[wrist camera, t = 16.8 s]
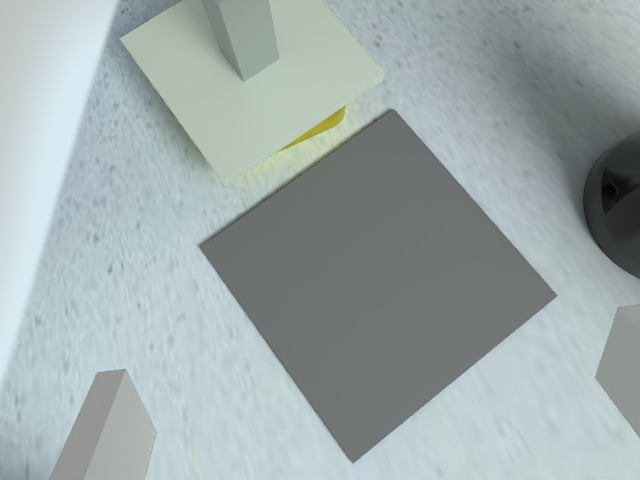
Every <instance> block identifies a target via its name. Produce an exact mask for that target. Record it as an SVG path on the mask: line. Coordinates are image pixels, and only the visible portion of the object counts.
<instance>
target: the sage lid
mask: <svg viewBox="0 0 640 480" xmlns="http://www.w3.org/2000/svg"><path fill="white" fill-rule="evenodd" d="M120 40H121V42H122V43H123V45H124V46H125V47H126V49H127V50H128V52H129V53H130V54H131V56H132V57H133V58H134V60H135V61H136V63H137V64H138V65H139V67H140V68H141V70H142V71H143V72H144V74H145V75H146V77H147V78H148V79H149V81H150V82H151V84H152V85H153V86H154V88H155V89H156V90H157V92H158V93H159V95H160V96H161V97H162V99H163V100H164V102H165V103H166V104H167V106H168V107H169V109H170V110H171V111H172V113H173V114H174V116H175V117H176V118H177V120H178V121H179V122H180V124H181V125H182V127H183V128H184V129H185V131H186V132H187V134H188V135H189V136H190V138H191V139H192V141H193V142H194V143H195V145H196V146H197V148H198V149H199V150H200V152H201V153H202V154H203V156H204V157H205V159H206V160H207V161H208V163H209V164H210V166H211V167H212V168H213V170H214V171H215V173H216V174H217V175H218V177H219V178H220V180H221V181H222V182H223V184H224V185H225V186H228V185H229V184H231V183H232V182H234V181H235V180H236V179H238V178H239V177H241V176H242V175H244V174H245V173H247V172H248V171H250V170H251V169H253V168H254V167H256V166H257V165H259V164H260V163H261V162H263V161H264V160H266V159H267V158H269V157H270V156H272V155H273V154H275V153H276V152H278V151H279V150H281V149H282V148H284V147H285V146H287V145H288V144H289V143H291V142H292V141H294V140H295V139H297V138H298V137H300V136H301V135H303V134H304V133H306V132H307V131H309V130H310V129H312V128H313V127H314V126H316V125H317V124H319V123H320V122H322V121H323V120H325V119H326V118H328V117H329V116H331V115H332V114H334V113H335V112H337V111H338V110H339V109H341V108H342V107H344V106H345V105H347V104H348V103H350V102H351V101H353V100H354V99H356V98H357V97H359V96H360V95H362V94H363V93H365V92H366V91H367V90H369V89H370V88H372V87H373V86H375V85H376V84H378V83H379V82H381V81H382V80H384V75H385V72H384V70H383V69H382V68H381V67H380V66H379V65H378V63H377V62H376V61H375V60H374V59H373V58H372V56H371V55H370V54H369V53H368V52H367V51H366V49H365V48H364V47H363V46H362V45H361V44H360V43H359V41H358V40H357V39H356V38H355V37H354V36H353V34H352V33H351V32H350V31H349V30H348V29H347V27H346V26H345V25H344V24H343V23H342V22H341V21H340V19H339V18H338V17H337V16H336V15H335V14H334V12H333V11H332V10H331V9H330V8H329V7H328V5H327V4H326V3H325V2H324V1H323V0H181V1H180V2H178V3H176V4H175V5H173V6H172V7H170V8H168V9H167V10H165V11H163V12H162V13H160V14H159V15H157V16H155V17H154V18H152V19H151V20H149V21H147V22H146V23H144V24H142V25H141V26H139V27H138V28H136V29H134V30H133V31H131V32H129V33H128V34H126V35H125V36H123V37H121V38H120Z"/></svg>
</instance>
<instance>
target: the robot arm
mask: <svg viewBox="0 0 640 480" xmlns="http://www.w3.org/2000/svg"><path fill="white" fill-rule="evenodd" d="M584 210H585V215H586V219H587V222H588V225H589V228H590V230H591V232H592V234H593V236H594V238H595V240H596V241H597V243H598V244H599V246H600V247H601V248H602V250H603V251H604V252H605V253H606V254H607V256H608V257H609V258H610V259H611V260H613V261H614V262H615V263H616V264H617V265H618V266H620V267H621V268H622V269H624V270H625V271H627V272H629V273H630V274H632V275H634V276H636V277H638V278H640V132H637V133H635V134H632V135H630V136H628V137H626V138H625V139H623V140H622V141H620V142H619V143H617V144H616V145H614V146H613V147H611V148H610V149H609V150H607V151H606V152H605V153H604V154H603V155H602V156H601V157H600V158H599V159H598V160H597V161H596V163H595V164H594V165H593V167H592V169H591V171H590V173H589V175H588V178H587V180H586V184H585V189H584ZM595 379H596V380H597V381H598V383H599V384H600V385H601V387H602V388H603V389H604V391H605V392H606V393H607V395H608V396H609V397H610V399H611V400H612V401H613V403H614V404H615V405H616V407H617V408H618V409H619V411H620V412H621V413H622V415H623V416H624V417H625V419H626V420H627V421H628V423H629V424H630V425H631V427H632V428H633V430H634V431H635V432H636V434H637V435H638V436H639V438H640V305H632V306H624V307H618V309H617V312H616V315H615V318H614V321H613V324H612V327H611V330H610V333H609V336H608V339H607V342H606V345H605V348H604V351H603V354H602V357H601V360H600V363H599V366H598V369H597V372H596V375H595ZM156 434H157V432H156V430H155V428H154V426H153V423H152V421H151V419H150V417H149V415H148V413H147V411H146V409H145V407H144V405H143V403H142V401H141V399H140V397H139V395H138V392H137V390H136V388H135V386H134V384H133V382H132V380H131V378H130V376H129V374H128V372H127V370H126V369H121V370H113V371H105V372H97V374H96V376H95V378H94V381H93V383H92V385H91V387H90V390H89V392H88V394H87V396H86V399H85V401H84V403H83V405H82V407H81V410H80V412H79V414H78V416H77V419H76V421H75V423H74V425H73V428H72V430H71V432H70V434H69V436H68V439H67V441H66V443H65V445H64V448H63V450H62V452H61V454H60V457H59V459H58V461H57V463H56V465H55V468H54V470H53V472H52V474H51V477H50V479H49V480H145V476H146V472H147V468H148V464H149V461H150V457H151V453H152V449H153V446H154V442H155V438H156Z"/></svg>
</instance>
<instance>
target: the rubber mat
mask: <svg viewBox="0 0 640 480" xmlns="http://www.w3.org/2000/svg"><path fill="white" fill-rule="evenodd" d="M200 248H201V250H202V251H203V252H204V254H205V255H206V257H207V258H208V259H209V261H210V262H211V264H212V265H213V267H214V268H215V269H216V271H217V272H218V274H219V275H220V276H221V278H222V279H223V281H224V282H225V283H226V285H227V286H228V288H229V289H230V291H231V292H232V293H233V295H234V296H235V298H236V299H237V300H238V302H239V303H240V305H241V306H242V308H243V309H244V310H245V312H246V313H247V315H248V316H249V317H250V319H251V320H252V322H253V323H254V324H255V326H256V327H257V329H258V330H259V332H260V333H261V334H262V336H263V337H264V339H265V340H266V341H267V343H268V344H269V346H270V347H271V349H272V350H273V351H274V353H275V354H276V356H277V357H278V358H279V360H280V361H281V363H282V364H283V365H284V367H285V368H286V370H287V371H288V373H289V374H290V375H291V377H292V378H293V380H294V381H295V382H296V384H297V385H298V387H299V388H300V390H301V391H302V392H303V394H304V395H305V397H306V398H307V399H308V401H309V402H310V404H311V405H312V406H313V408H314V409H315V411H316V412H317V414H318V415H319V416H320V418H321V419H322V421H323V422H324V423H325V425H326V426H327V428H328V429H329V431H330V432H331V433H332V435H333V436H334V438H335V439H336V440H337V442H338V443H339V445H340V446H341V447H342V449H343V450H344V452H345V453H346V455H347V456H348V457H349V459H350V460H351V462H352V463H354V462H356V461H357V460H358V459H359V458H360V457H362V456H363V455H364V454H365V453H366V452H368V451H369V450H370V449H371V448H373V447H374V446H375V445H376V444H377V443H379V442H380V441H381V440H382V439H384V438H385V437H386V436H387V435H388V434H390V433H391V432H392V431H393V430H395V429H396V428H397V427H398V426H399V425H401V424H402V423H403V422H404V421H405V420H407V419H408V418H409V417H410V416H412V415H413V414H414V413H415V412H416V411H418V410H419V409H420V408H421V407H423V406H424V405H425V404H426V403H427V402H429V401H430V400H431V399H432V398H434V397H435V396H436V395H437V394H438V393H440V392H441V391H442V390H443V389H445V388H446V387H447V386H448V385H449V384H451V383H452V382H453V381H454V380H455V379H457V378H458V377H459V376H460V375H462V374H463V373H464V372H465V371H466V370H468V369H469V368H470V367H471V366H473V365H474V364H475V363H476V362H477V361H479V360H480V359H481V358H482V357H484V356H485V355H486V354H487V353H488V352H490V351H491V350H492V349H493V348H494V347H496V346H497V345H498V344H499V343H501V342H502V341H503V340H504V339H505V338H507V337H508V336H509V335H510V334H512V333H513V332H514V331H515V330H516V329H518V328H519V327H520V326H521V325H523V324H524V323H525V322H526V321H527V320H529V319H530V318H531V317H532V316H533V315H535V314H536V313H537V312H538V311H540V310H541V309H542V308H543V307H544V306H546V305H547V304H548V303H549V302H551V301H552V300H553V299H554V298H555V297H557V295H556V293H555V292H554V291H553V290H552V289H551V288H550V287H549V285H548V284H547V283H546V282H545V281H544V280H543V279H542V277H541V276H540V275H539V274H538V273H537V272H536V271H535V269H534V268H533V267H532V266H531V265H530V264H529V263H528V261H527V260H526V259H525V258H524V257H523V256H522V255H521V253H520V252H519V251H518V250H517V249H516V248H515V247H514V245H513V244H512V243H511V242H510V241H509V240H508V239H507V238H506V236H505V235H504V234H503V233H502V232H501V231H500V230H499V228H498V227H497V226H496V225H495V224H494V223H493V222H492V220H491V219H490V218H489V217H488V216H487V215H486V214H485V212H484V211H483V210H482V209H481V208H480V207H479V206H478V204H477V203H476V202H475V201H474V200H473V199H472V198H471V196H470V195H469V194H468V193H467V192H466V191H465V190H464V188H463V187H462V186H461V185H460V184H459V183H458V182H457V180H456V179H455V178H454V177H453V176H452V175H451V174H450V172H449V171H448V170H447V169H446V168H445V167H444V166H443V164H442V163H441V162H440V161H439V160H438V159H437V158H436V156H435V155H434V154H433V153H432V152H431V151H430V150H429V149H428V147H427V146H426V145H425V144H424V143H423V142H422V141H421V139H420V138H419V137H418V136H417V135H416V134H415V133H414V131H413V130H412V129H411V128H410V127H409V126H408V125H407V123H406V122H405V121H404V120H403V119H402V118H401V117H400V115H399V114H398V113H397V112H396V111H395V110H394V109H393V110H391V111H390V112H389V113H387V114H386V115H384V116H383V117H382V118H380V119H379V120H377V121H376V122H375V123H373V124H372V125H370V126H369V127H368V128H366V129H365V130H363V131H362V132H361V133H359V134H358V135H356V136H355V137H354V138H352V139H351V140H349V141H348V142H347V143H345V144H344V145H343V146H341V147H340V148H338V149H337V150H336V151H334V152H333V153H331V154H330V155H329V156H327V157H326V158H324V159H323V160H322V161H320V162H319V163H317V164H316V165H315V166H313V167H312V168H310V169H309V170H308V171H306V172H305V173H303V174H302V175H301V176H299V177H298V178H296V179H295V180H294V181H292V182H291V183H289V184H288V185H287V186H285V187H284V188H282V189H281V190H280V191H278V192H277V193H275V194H274V195H273V196H271V197H270V198H268V199H267V200H266V201H264V202H263V203H261V204H260V205H259V206H257V207H256V208H254V209H253V210H252V211H250V212H249V213H247V214H246V215H245V216H243V217H242V218H240V219H239V220H238V221H236V222H235V223H233V224H232V225H231V226H229V227H228V228H226V229H225V230H224V231H222V232H221V233H219V234H218V235H217V236H215V237H214V238H212V239H211V240H210V241H208V242H207V243H205V244H204V245H203V246H201V247H200Z"/></svg>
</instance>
